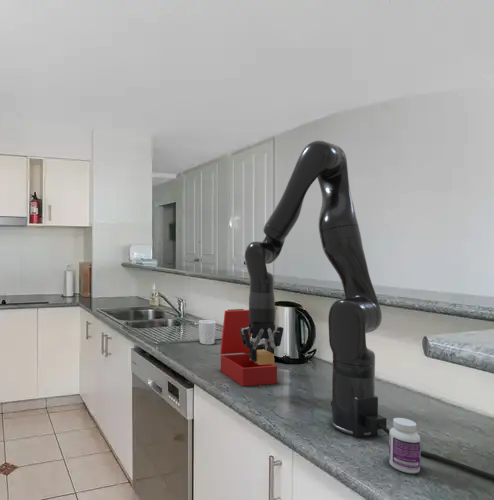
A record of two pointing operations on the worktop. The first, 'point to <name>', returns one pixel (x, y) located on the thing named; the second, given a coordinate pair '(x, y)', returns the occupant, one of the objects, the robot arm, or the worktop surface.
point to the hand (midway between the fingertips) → (262, 360)
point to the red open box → (248, 370)
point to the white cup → (207, 331)
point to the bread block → (264, 357)
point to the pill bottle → (404, 446)
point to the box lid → (234, 331)
